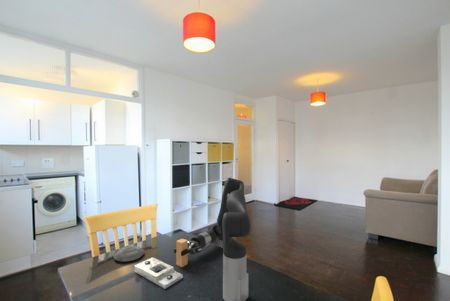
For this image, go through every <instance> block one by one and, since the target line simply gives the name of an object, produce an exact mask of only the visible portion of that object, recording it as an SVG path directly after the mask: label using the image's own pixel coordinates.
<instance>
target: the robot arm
mask: <svg viewBox="0 0 450 301" xmlns="http://www.w3.org/2000/svg"><path fill="white" fill-rule="evenodd" d="M216 223H217V224H216ZM216 223H215V224H213V225H212V227H210V229H208V230H207V231H204V232H202V233H199V234H197V235H194V236H193V237H191V239H190V240H188V248H187V249H185V250H183V251H181V256H184V255H186V254H188V255H195V254H197V253H200V252H202V249H204V248H206V247H208V246H209V245H211V244H213V243H214V242H216V241H217V239H218V240H219V241H222V245H223V246H222V299H223V300H224V301H246V300H247V299H248V298H249V272H247V247H246V245H245V244H244V243H242V242H240V241H238V240H236V239H234V238H245V237H248V236H249V235H250V234H251V233H250V232H251V229H252V228H251V227H252V226H251V221H250V216H249V212H248V209H247V201H246V196H245V184H244V182H243V181H242V180H241V179H236V178H232V177H227V179H226V180H225V183H224V186H223V190H222V196H221V202H220V208H219V212H218V215H217V218H216ZM173 254H176V247H175V248H174V249H173Z"/></svg>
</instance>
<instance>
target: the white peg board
mask: <svg viewBox="0 0 450 301" xmlns="http://www.w3.org/2000/svg"><path fill="white" fill-rule="evenodd" d="M174 267H175V266H172V265H170V264H168V263H165V262H163V261H162V260H160V259H157V258H155V257H153V256H152V257H150V258H147V259H146V260H144V261H140V262H139V263H137V264H134V273H136V274H138V275H139V276H141V277H143V278H145V279H147V280H148V281H150V282H152V283H153V284H155V285H157V286H159V287H160V288H163V289H164V290H166V289H167V288H169V287H171V286H172V285H173V284H175V283H177V282H179V281H180V280H182V279H183V277H184V276H183V273H181V272H178V271H176V270H175V269H174ZM158 271H159V272H158Z"/></svg>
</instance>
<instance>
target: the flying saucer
mask: <svg viewBox="0 0 450 301" xmlns="http://www.w3.org/2000/svg"><path fill="white" fill-rule="evenodd" d="M143 255H145V250H144V249H143V248H142V247H141V246H137V245H129V246H124V247H122V248H120V249H119V250H117V251H116V252H115V253H114V255H113V259H114V261H117V262H131V261H135V260H139V259H140V258H141V257H143Z"/></svg>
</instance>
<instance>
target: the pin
mask: <svg viewBox="0 0 450 301" xmlns="http://www.w3.org/2000/svg"><path fill="white" fill-rule="evenodd" d="M188 241H189V240H188V239H184V238H180V239H178V240H176V242H175V246H176V247H175V248H176V253H175V254H176V256H175V262H176V263H175V264H176V266H178V267H180V268H184V267H185V266H187V265H188V264H189V263H188V262H189V256H188V255H189V254H186V255H184V256H181V251H183V250H185V249H187V248H188Z"/></svg>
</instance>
